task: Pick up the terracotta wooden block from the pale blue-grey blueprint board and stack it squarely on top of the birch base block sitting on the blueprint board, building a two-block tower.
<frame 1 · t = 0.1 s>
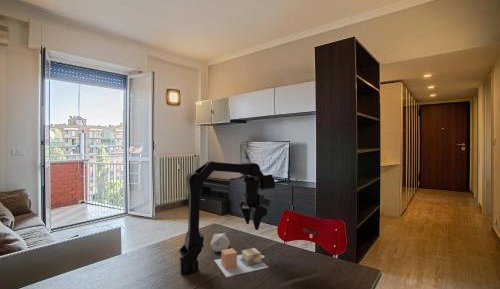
hand: (252, 226, 116), 14 cm above the table, fingers open, 9 cm apart
blueprint board: (240, 265, 110), on the table
terracotta block: (229, 265, 108), point 1 cm above the table, touching blueprint board
die: (220, 251, 126), on the table
birch base block: (251, 261, 112), point 1 cm above the table, touching blueprint board
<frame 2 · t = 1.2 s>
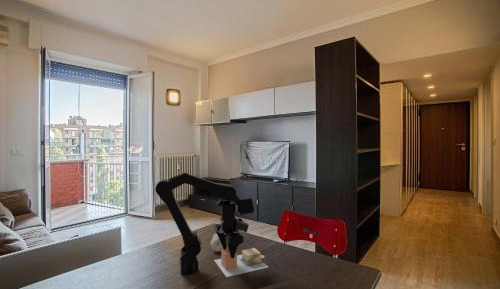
hand: (228, 253, 108), 6 cm above the table, fingers open, 9 cm apart
nothing on the table moved.
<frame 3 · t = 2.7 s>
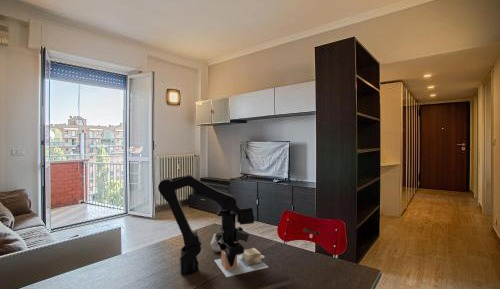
hand: (229, 263, 108), 2 cm above the table, fingers closed on terracotta block, 5 cm apart
terracotta block: (229, 265, 108), point 1 cm above the table, touching blueprint board, gripper
everything else where it was.
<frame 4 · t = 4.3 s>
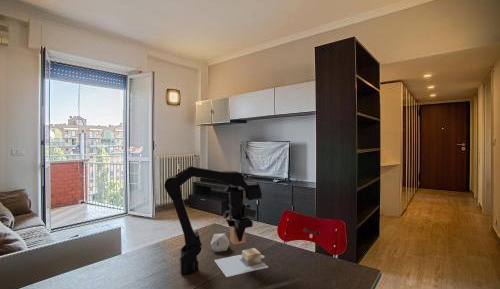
hand: (237, 239, 110), 11 cm above the table, fingers closed on terracotta block, 5 cm apart
terracotta block: (237, 241, 110), point 10 cm above the table, touching gripper
everything else where it was.
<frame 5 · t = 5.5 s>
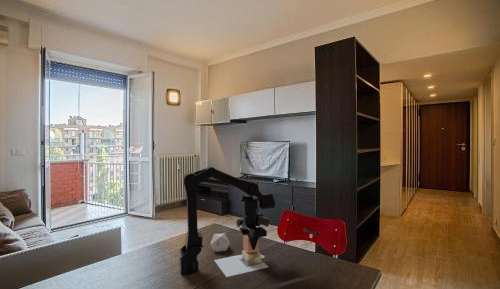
hand: (250, 247, 112), 7 cm above the table, fingers closed on terracotta block, 5 cm apart
terracotta block: (251, 249, 112), point 6 cm above the table, touching gripper
everything else where it was.
when the fingers open (7 cm above the table, at t = 6.2 s): terracotta block stays where it is, resting on birch base block.
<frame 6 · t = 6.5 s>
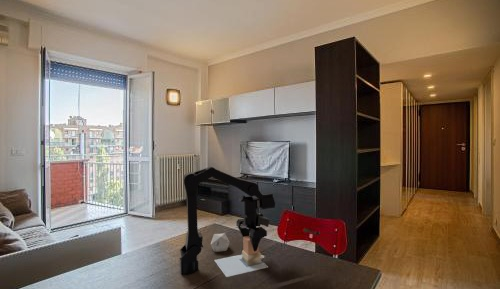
hand: (251, 247, 112), 7 cm above the table, fingers open, 8 cm apart
terracotta block: (251, 251, 112), point 5 cm above the table, touching birch base block
birch base block: (251, 261, 112), point 1 cm above the table, touching blueprint board, terracotta block
everything else where it was.
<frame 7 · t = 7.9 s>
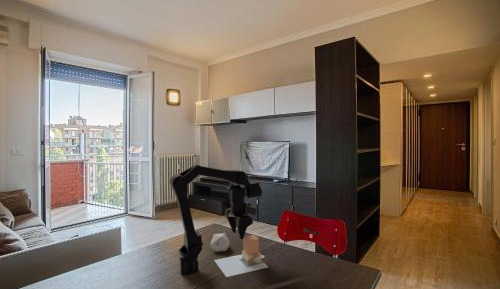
hand: (237, 235, 114), 11 cm above the table, fingers open, 9 cm apart
nothing on the table moved.
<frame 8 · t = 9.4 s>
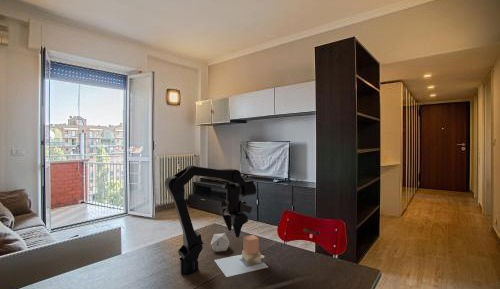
hand: (233, 233, 114), 12 cm above the table, fingers open, 9 cm apart
nothing on the table moved.
at the end: terracotta block 0.0 cm off-centre on the birch base block, point 4.0 cm above the birch base block's base; terracotta block tilted 0°; birch base block moved 0.0 cm from its start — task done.
